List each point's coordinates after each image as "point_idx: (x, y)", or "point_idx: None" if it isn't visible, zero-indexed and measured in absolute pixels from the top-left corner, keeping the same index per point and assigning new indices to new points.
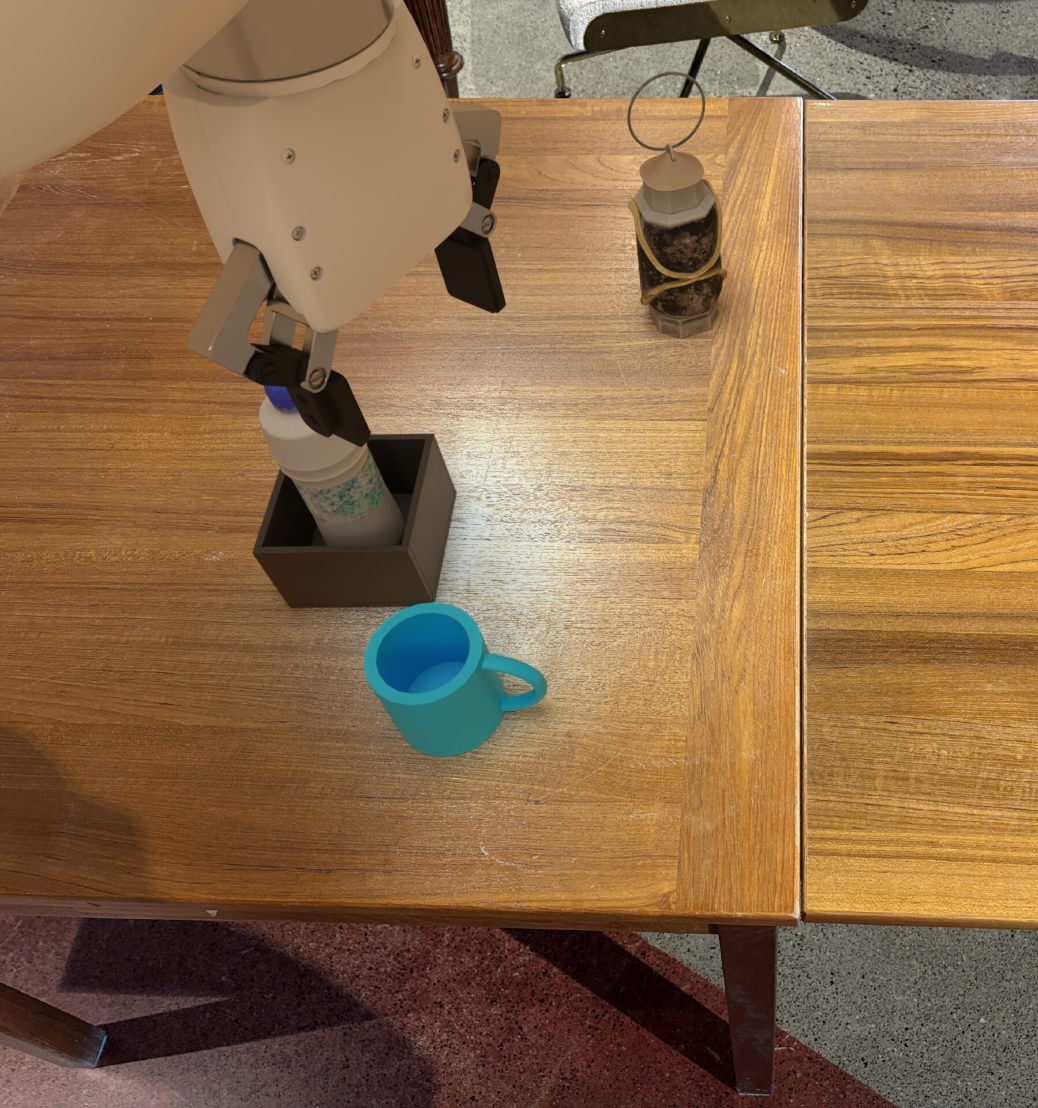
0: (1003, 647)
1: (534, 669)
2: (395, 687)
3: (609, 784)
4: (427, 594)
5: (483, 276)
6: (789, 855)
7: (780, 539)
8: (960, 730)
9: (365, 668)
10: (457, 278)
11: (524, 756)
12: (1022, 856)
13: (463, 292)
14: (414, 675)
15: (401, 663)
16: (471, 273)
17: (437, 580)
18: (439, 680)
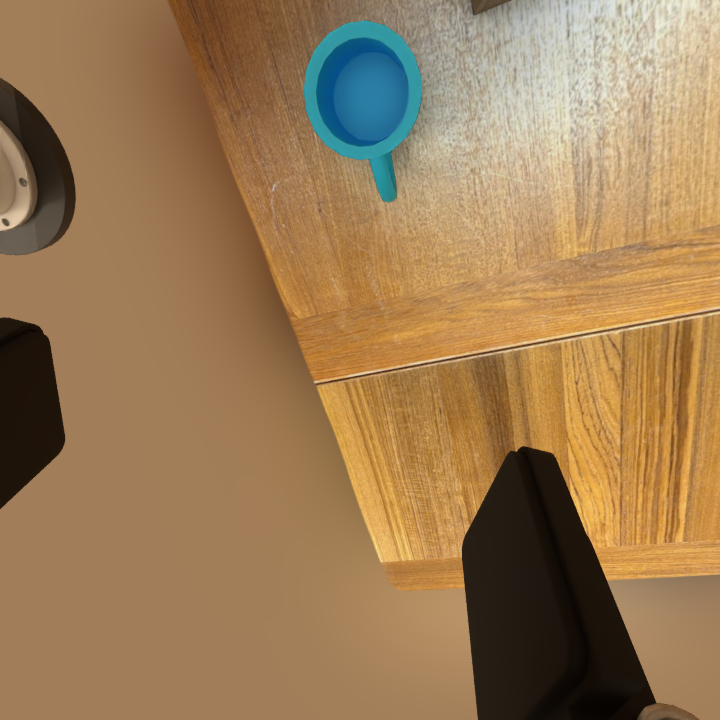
0: None
1: (391, 196)
2: (351, 52)
3: (348, 256)
4: (475, 10)
5: (473, 652)
6: (340, 373)
7: (587, 318)
8: (443, 444)
9: (327, 37)
10: (506, 542)
11: (349, 185)
12: (377, 473)
13: (496, 511)
14: (381, 52)
15: (373, 46)
16: (487, 623)
17: (503, 2)
18: (385, 80)
